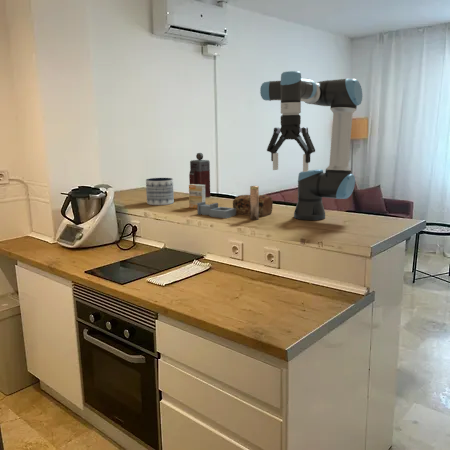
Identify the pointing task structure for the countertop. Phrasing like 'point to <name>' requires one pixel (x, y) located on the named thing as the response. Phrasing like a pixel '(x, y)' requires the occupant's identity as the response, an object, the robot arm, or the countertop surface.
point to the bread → (244, 205)
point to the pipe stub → (254, 202)
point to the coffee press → (200, 173)
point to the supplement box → (196, 195)
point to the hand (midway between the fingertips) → (290, 170)
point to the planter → (159, 191)
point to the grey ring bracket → (215, 210)
